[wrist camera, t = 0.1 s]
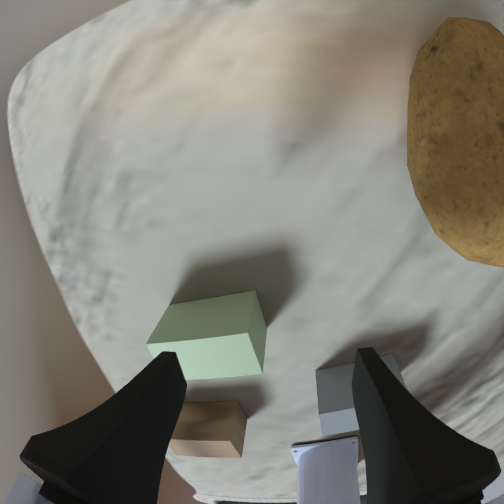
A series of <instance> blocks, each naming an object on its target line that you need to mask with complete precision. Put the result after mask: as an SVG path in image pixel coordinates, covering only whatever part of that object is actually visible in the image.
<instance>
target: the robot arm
mask: <svg viewBox="0 0 504 504" xmlns="http://www.w3.org/2000/svg"><path fill="white" fill-rule="evenodd" d="M351 384H352V394H353V402H354V408H355V413H356V417H357V421H358V426H359V430H360V435H361V439H362V444H363V448H364V454H365V463H366V477H367V504H481V501H480V500H482V499H483V497H484V495H483V492H482V490H483V489H485V488H486V487H487V486H488V485H489V484H491V483H492V482H493V481H494V480H495V479H496V478H497V477H498V476H499V475H500V473H501V469H500V465H499V462H498V459H497V457H496V455H495V453H494V451H493V450H490V449H488V448H486V447H484V446H481V445H479V444H477V443H475V442H473V441H471V440H469V439H467V438H466V437H464V436H462V435H460V434H459V433H457V432H456V431H454V430H453V429H451V428H450V427H448V426H447V425H446V424H444V423H443V422H441V421H440V420H439V419H438V418H436V417H435V416H434V415H433V414H431V413H430V412H429V411H428V410H427V409H426V408H425V407H423V406H422V405H421V404H420V403H419V402H418V401H417V400H416V399H415V398H414V397H413V396H412V395H411V394H410V393H409V391H408V390H407V389H406V388H405V387H404V386H403V385H402V384H401V382H400V381H399V380H398V379H397V378H396V377H395V375H394V374H393V373H392V372H391V371H390V369H389V368H388V367H387V365H386V364H385V363H384V362H383V360H382V359H381V358H380V356H379V355H378V354H377V352H376V351H375V349H374V348H373V347H368V348H359V349H357V353H356V359H355V366H354V372H353V377H352V383H351ZM186 389H187V383H186V380H185V377H184V374H183V372H182V369H181V366H180V363H179V360H178V357H177V354H176V352H170V351H162V352H161V353H160V354H159V355H158V356H157V357H156V358H154V359H153V360H152V361H151V362H150V363H149V364H148V365H147V366H146V367H145V368H144V369H143V370H142V371H141V372H140V373H139V374H138V375H137V376H135V377H134V378H133V379H132V380H131V381H130V382H129V383H128V384H127V385H125V386H124V387H123V388H122V389H121V390H119V391H118V392H117V393H116V394H115V395H113V396H112V397H111V398H109V399H108V400H107V401H105V402H104V403H103V404H101V405H100V406H98V407H97V408H95V409H94V410H92V411H90V412H89V413H87V414H85V415H83V416H81V417H80V418H78V419H76V420H74V421H72V422H70V423H68V424H65V425H63V426H61V427H58V428H56V429H53V430H50V431H47V432H44V433H41V434H37V435H34V436H31V438H30V440H29V441H28V443H27V445H26V446H25V448H24V449H23V451H22V453H21V454H20V459H21V461H22V462H23V463H24V464H25V465H27V467H28V468H30V469H31V470H32V471H33V472H34V473H35V474H37V475H38V476H39V477H40V478H41V479H43V480H44V483H43V485H41V484H40V483H38V482H36V481H35V480H33V479H32V478H30V477H29V476H27V475H26V474H24V473H22V472H20V473H19V475H18V476H17V478H16V480H15V482H14V483H13V485H12V487H11V489H10V491H9V493H8V495H7V497H6V499H5V500H4V502H3V504H157V498H158V491H159V485H160V479H161V473H162V468H163V464H164V460H165V455H166V452H167V448H168V445H169V443H170V440H171V437H172V434H173V432H174V429H175V426H176V424H177V421H178V418H179V415H180V413H181V410H182V407H183V403H184V399H185V394H186ZM291 452H292V454H293V457H294V459H295V462H296V464H297V467H298V489H297V504H360V493H359V482H358V473H357V467H358V437H356V436H355V437H349V438H344V439H338V440H332V441H326V442H319V443H312V444H304V445H295V446H292V447H291ZM486 504H504V494H503V495H501V496H499V497H497V498H495V499H494V500H491V501H489V502H488V503H486Z"/></svg>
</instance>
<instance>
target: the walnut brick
mask: <svg viewBox="0 0 504 504" xmlns="http://www.w3.org/2000/svg"><path fill="white" fill-rule="evenodd" d="M246 423H247V419H246V417H245V415H244V413H243V411H242V409H241V407H240V405H239V403H238V401H223V402H187V403H183V407H182V410H181V413H180V415H179V418H178V421H177V424H176V426H175V429H174V432H173V434H172V437H171V440H170V443H169V445H168V446H169V447H170V448H171V449H172V450H173V451H174V452H175V453H176V454H177V455H181V456H195V457H220V458H241V457H242V451H243V444H244V437H245V430H246Z"/></svg>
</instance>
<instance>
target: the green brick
mask: <svg viewBox="0 0 504 504" xmlns="http://www.w3.org/2000/svg"><path fill="white" fill-rule="evenodd" d="M266 334H267V327H266V323H265V320H264V317H263V313H262V310H261V307H260V304H259V300H258V297H257V294H256V290H253V291H248V292H242V293H237V294H231V295H225V296H219V297H214V298H208V299H202V300H196V301H190V302H183V303H177V304H171V305H169V306H168V308H167V309H166V311H165V313H164V314H163V316H162V318H161V319H160V321H159V323H158V324H157V326H156V328H155V329H154V331H153V333H152V335H151V336H150V338H149V340H148V341H147V343H146V345H147V347H148V349H149V350H150V352H151V354H152V356H153V357H154V358H156V357H157V356H158V355H159V354H160V353H161V352H162V351H170V352H176V354H177V357H178V360H179V363H180V366H181V369H182V372H183V374H184V377H185V380H194V379H210V378H224V377H235V376H246V375H255V374H263V364H264V354H265V344H266Z"/></svg>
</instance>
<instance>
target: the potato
mask: <svg viewBox="0 0 504 504" xmlns="http://www.w3.org/2000/svg"><path fill="white" fill-rule="evenodd" d="M407 166H408V169H409V173H410V176H411V180H412V184H413V188H414V191H415V195H416V197H417V199H418V201H419V203H420V205H421V207H422V209H423V211H424V213H425V215H426V217H427V219H428V221H429V223H430V225H431V227H432V228H433V230H434V232H435V234H436V235H437V236H438V237H439V238H441V239H442V240H443V241H444V242H445V243H446V244H448V245H449V246H450V247H451V248H452V249H453V250H454V251H455V252H457V253H458V254H460V255H461V256H463V257H464V258H466V259H467V260H469V261H474V262H479V263H483V264H488V265H493V266H499V267H504V35H503V34H502V33H501V32H500V31H499V30H498V29H496V28H495V27H494V26H493V25H491V24H490V23H489V22H485V21H479V20H474V19H468V18H447V19H446V20H445V21H444V23H443V24H442V25H441V26H440V27H439V28H438V29H437V31H436V32H435V33H434V34H433V35H432V36H431V38H430V39H429V40H428V41H427V42H426V43H425V45H424V46H423V47H422V48H421V49H420V50H419V52H418V56H417V59H416V62H415V65H414V68H413V71H412V74H411V77H410V89H409V99H408V125H407Z"/></svg>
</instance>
